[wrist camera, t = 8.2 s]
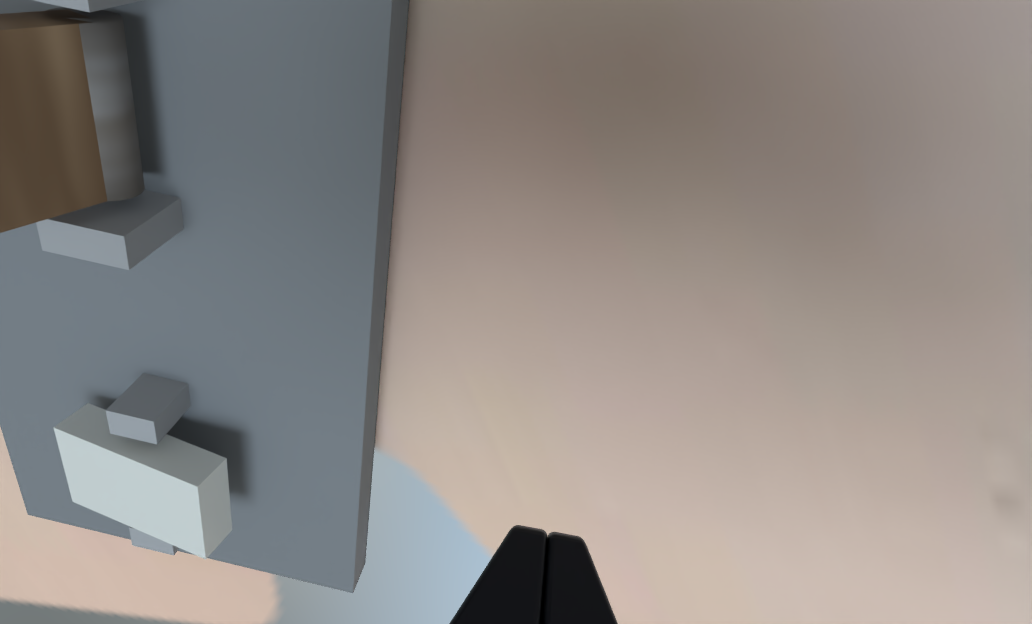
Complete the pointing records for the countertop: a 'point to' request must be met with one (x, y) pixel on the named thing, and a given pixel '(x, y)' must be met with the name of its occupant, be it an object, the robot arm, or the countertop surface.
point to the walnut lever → (65, 115)
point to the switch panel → (225, 274)
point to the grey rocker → (147, 482)
